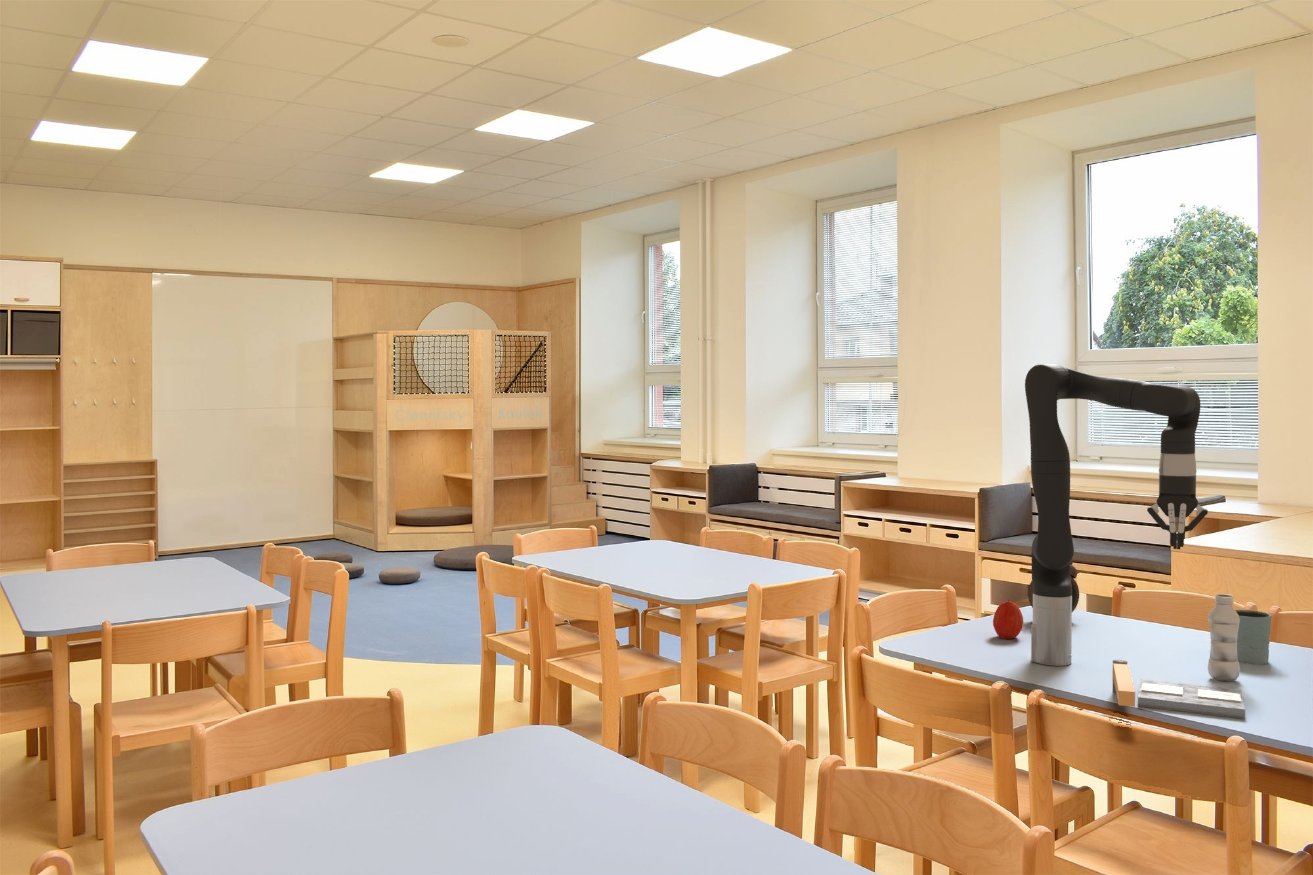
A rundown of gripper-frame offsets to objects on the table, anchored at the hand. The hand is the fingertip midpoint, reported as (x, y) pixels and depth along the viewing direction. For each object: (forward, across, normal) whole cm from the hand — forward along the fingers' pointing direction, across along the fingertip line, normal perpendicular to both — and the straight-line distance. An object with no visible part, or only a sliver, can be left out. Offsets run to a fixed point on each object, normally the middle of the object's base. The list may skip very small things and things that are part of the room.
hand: (1176, 548), depth 232 cm
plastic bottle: (+32, -10, -12) cm, 36 cm away
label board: (+32, -3, +12) cm, 34 cm away
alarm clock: (+32, +33, -64) cm, 79 cm away
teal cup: (+32, -16, -36) cm, 51 cm away
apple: (+32, +42, -35) cm, 63 cm away
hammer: (+32, +10, +24) cm, 41 cm away
